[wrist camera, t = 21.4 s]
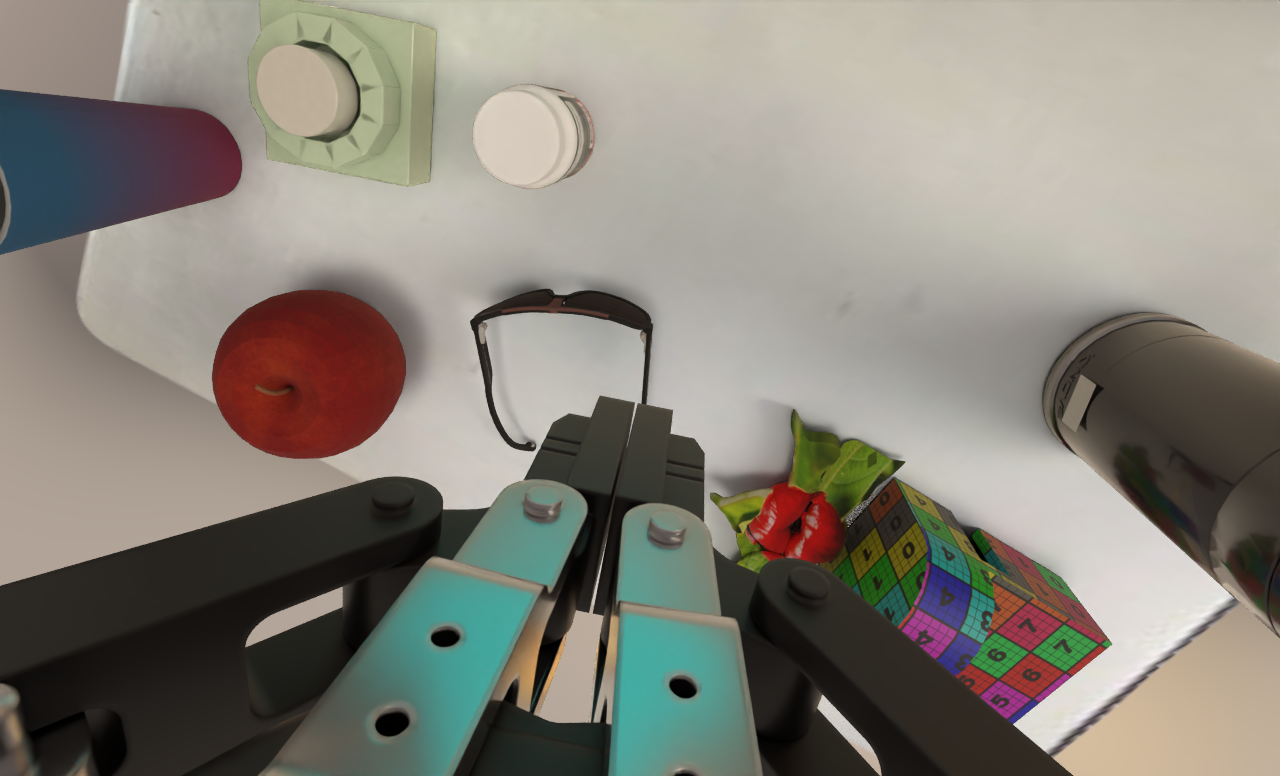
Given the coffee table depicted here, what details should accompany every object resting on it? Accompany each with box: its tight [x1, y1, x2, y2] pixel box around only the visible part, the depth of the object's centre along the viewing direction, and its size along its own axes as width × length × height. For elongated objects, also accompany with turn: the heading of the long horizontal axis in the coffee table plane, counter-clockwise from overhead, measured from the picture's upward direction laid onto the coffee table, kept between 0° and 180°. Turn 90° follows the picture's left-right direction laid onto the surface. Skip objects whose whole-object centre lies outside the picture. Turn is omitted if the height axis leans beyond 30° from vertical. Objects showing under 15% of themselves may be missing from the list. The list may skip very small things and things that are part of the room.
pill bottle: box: [473, 84, 595, 189], centre depth 33 cm, size 5×5×8 cm
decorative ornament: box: [710, 409, 905, 573], centre depth 43 cm, size 15×5×10 cm
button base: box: [248, 0, 436, 187], centre depth 34 cm, size 8×8×5 cm
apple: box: [212, 290, 406, 459], centre depth 38 cm, size 10×10×10 cm
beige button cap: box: [256, 44, 358, 137], centre depth 32 cm, size 4×4×2 cm
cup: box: [0, 89, 241, 255], centre depth 32 cm, size 7×7×15 cm
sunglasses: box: [470, 289, 653, 451], centre depth 40 cm, size 10×12×5 cm
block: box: [817, 478, 1112, 724], centre depth 41 cm, size 18×12×10 cm
